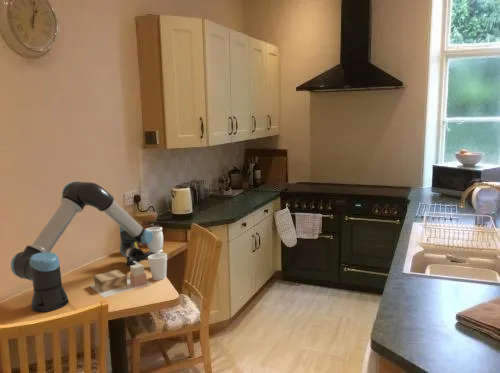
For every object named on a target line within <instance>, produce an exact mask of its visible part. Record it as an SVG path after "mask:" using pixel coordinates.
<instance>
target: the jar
mask: <svg viewBox="0 0 500 373" xmlns="http://www.w3.org/2000/svg"><path fill="white" fill-rule="evenodd" d="M144 229H145V230H149V231H151V232H152V233H153V240H152V241H151V242H150V243H149V244H146V245H147V247H148V250H149V251H148V252H154V253H163V252H164V250H163V247H164V234H163V233H164V232H163V226H151V227H147V228H144Z"/></svg>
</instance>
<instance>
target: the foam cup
mask: <svg viewBox="0 0 500 373" xmlns="http://www.w3.org/2000/svg"><path fill="white" fill-rule="evenodd" d="M147 262H148V266H149V269H150V273H151V274H150V275H151V278H152V280H153V281H163V280H164V279H165V280H166V278H167V271H168V270H167V269H168V255H167V253H164V252H161V253H156V254H152V255H149V256H148V260H147Z"/></svg>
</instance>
